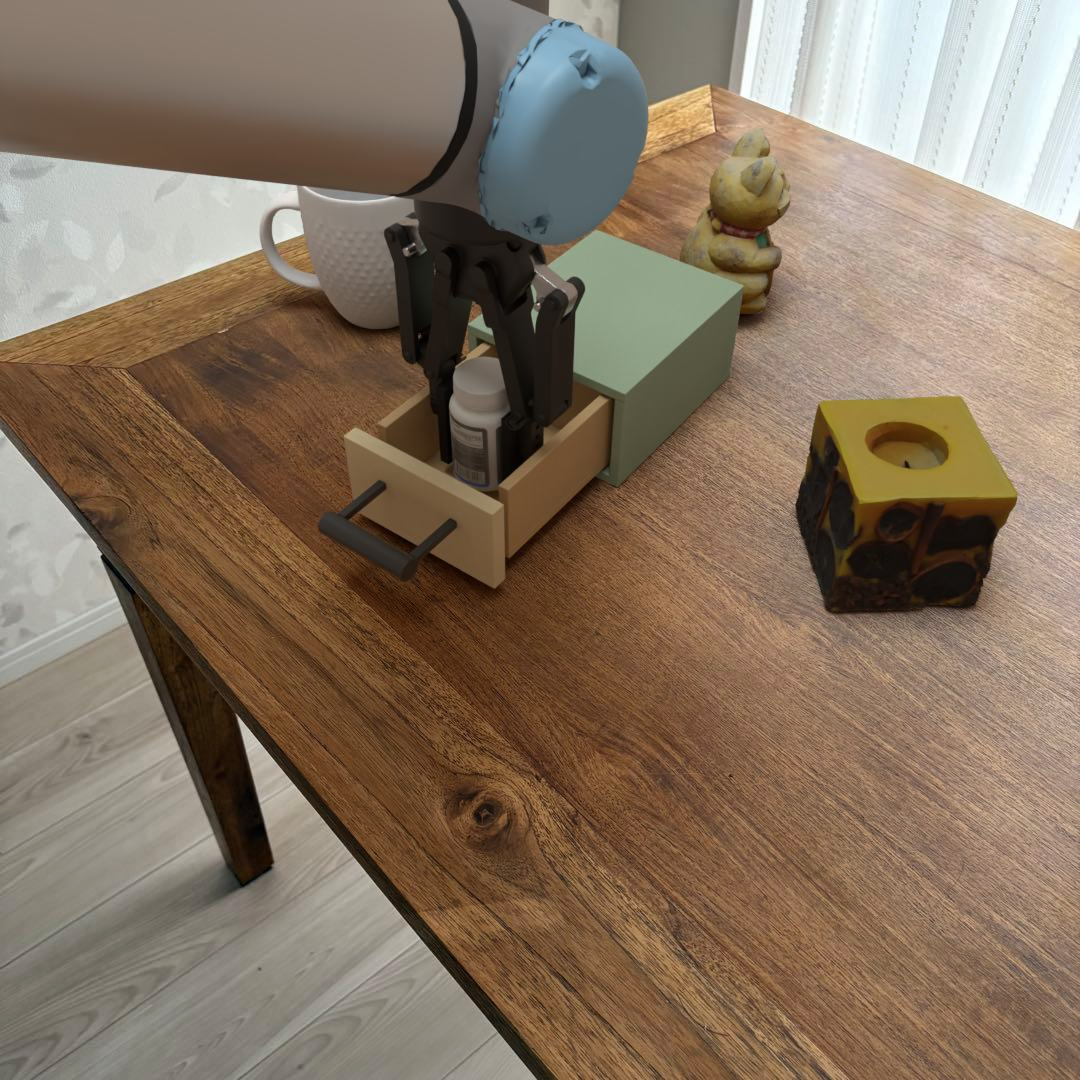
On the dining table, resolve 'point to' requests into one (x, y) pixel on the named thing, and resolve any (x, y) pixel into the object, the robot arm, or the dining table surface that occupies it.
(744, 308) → the decorative figurine
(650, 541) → the dining table surface
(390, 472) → the drawer
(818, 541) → the candle
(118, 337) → the dining table surface
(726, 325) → the cabinet
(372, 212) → the mug
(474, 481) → the pill bottle
